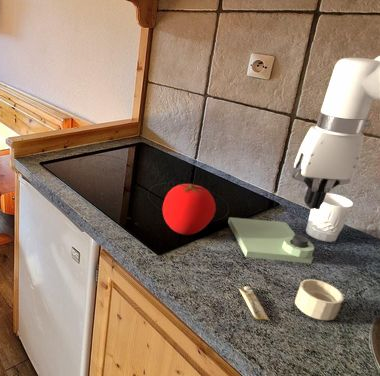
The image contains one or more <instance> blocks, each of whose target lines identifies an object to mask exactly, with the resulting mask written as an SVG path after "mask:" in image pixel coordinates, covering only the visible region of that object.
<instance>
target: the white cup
mask: <svg viewBox="0 0 380 376" xmlns="http://www.w3.org/2000/svg"><path fill="white" fill-rule="evenodd" d="M353 207H354V202H353V201H352V200H351V199H349V198H347V197H345V196H343V195H340V194H336V193H331V192H328V193H326V195H325V198H324V201H323V204H321V206H320V209H315V208H314V209H310V210H309V215H308V220H307V225H306V228H305V232H306V234H307V235H309V237H311V238H314V239H316V240H318V241H322V242H327V243H328V242H329V243H332V242H336V241H337V239H338V238H339V235H340V233H341V232H342V230H343V228H344V226H345V224H346V222H347V220H348V217H349V215H350V213H351V210H352V208H353Z"/></svg>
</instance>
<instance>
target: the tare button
mask: <svg viewBox="0 0 380 376" xmlns="http://www.w3.org/2000/svg"><path fill="white" fill-rule="evenodd" d="M308 241H309V238H307V237H306V236H304V235H300V234H295V235H294V236H293V239H292V242H291V244H293V245H294V246H297V247H300V248H306V247H307V244H308ZM309 242H310V241H309Z"/></svg>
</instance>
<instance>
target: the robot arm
mask: <svg viewBox="0 0 380 376" xmlns="http://www.w3.org/2000/svg"><path fill="white" fill-rule="evenodd" d="M373 101H380V55H378V56H377V57H375V58H373V59H372V58H366V57H365V58H363V57H343V58H341V59H339V60H338V61H336V63H335V65H334V68H333V70H332V74H331V76H330V79H329V83H328V86H327V90H326V92H325V96H324V100H323V103H322V104H321V108H320V112H319V115H318V118H317V122H316V125H314V126H312V125H311V126H310V128H309V129H308V131H307V132H306V135H305V137H304V139H303V140H302V142H301V145H300V147H299V149H298V152H297V155H296V157H295V160H294V163H293V168H294V169H295V171H294V173H293V174H292V178H293V179H294V180H295V181H298V182H301V183H304V184H305V185H306V187H307V190H306V193H305V196H304V199H303V200H304V204H305V205H306V206H307V207H308V208H309V209H310V210H311V209H314V208H315V209H320V206H321V204H323V201H324V198H325V195H326V193H331V191H332V189H334V188H336V187H337V186H342V185H349V184H350V183H351V179H352V178H354V175H355V173H356V171H357V169H358V166H359V162H360V160H361V156H362V150H363V145H364V133H363V132H362V131H363V130H364V128H365V127H371V125H372V120H371V119H368V118H367V117H368V116H369V115H368V114H369V112H370V109H371V106H372V104H373Z"/></svg>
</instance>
